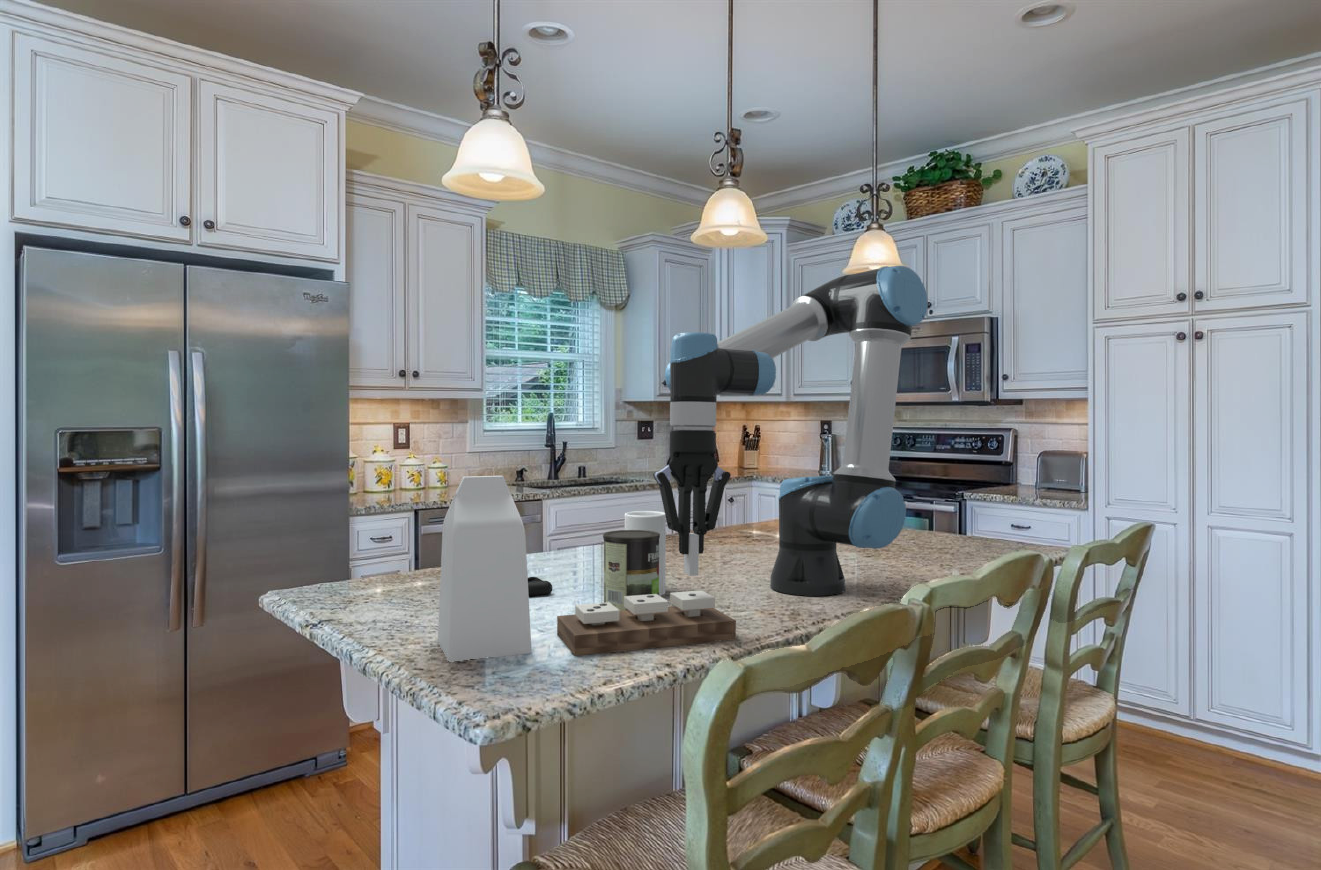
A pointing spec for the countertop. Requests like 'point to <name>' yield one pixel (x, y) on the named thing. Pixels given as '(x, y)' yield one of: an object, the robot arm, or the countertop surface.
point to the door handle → (538, 587)
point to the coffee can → (630, 565)
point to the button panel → (645, 631)
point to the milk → (483, 574)
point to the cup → (656, 524)
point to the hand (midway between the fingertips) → (690, 573)
